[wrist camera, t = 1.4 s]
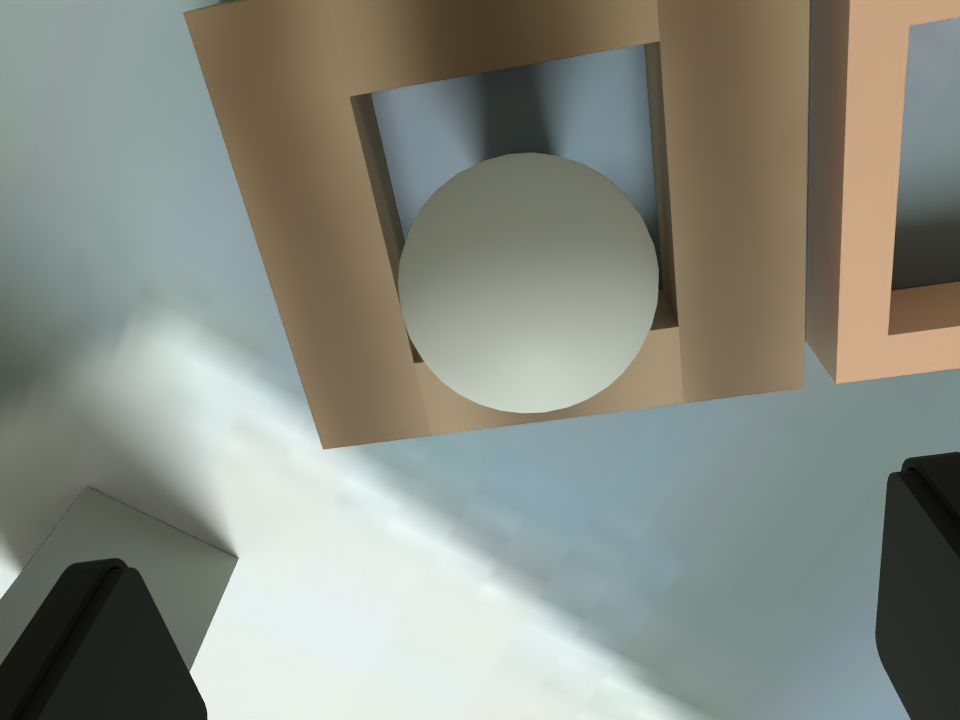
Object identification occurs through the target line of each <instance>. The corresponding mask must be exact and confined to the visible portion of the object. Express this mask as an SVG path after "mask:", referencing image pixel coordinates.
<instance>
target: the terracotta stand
mask: <svg viewBox="0 0 960 720" xmlns="http://www.w3.org/2000/svg"><path fill="white" fill-rule="evenodd" d="M956 17H960V0H811V50H810V113H809V176H808V239H807V301H806V342H807V343H808V345H809V346H810V348H811V349H812V351H813V352H814V353H815V355H816V356H817V358H818V359H819V360H820V362H821V363H822V365H823V366H824V367H825V369H826V370H827V372H828V373H829V375H830V376H831V377H832V379H833V380H834V382H835V383H836V384H838V383H846V382H854V381H861V380H869V379H877V378H885V377H893V376H901V375H908V374H916V373H924V372H932V371H940V370H947V369H955V368H960V281H958V282H951V283H944V284H937V285H930V286H922V287H915V288H908V289H901V290H894V291H891V283H892V269H893V254H894V240H895V225H896V211H897V196H898V182H899V167H900V153H901V138H902V124H903V109H904V95H905V80H906V66H907V51H908V37H909V26H910V25H916V24H922V23H927V22H933V21H939V20H945V19H950V18H956Z"/></svg>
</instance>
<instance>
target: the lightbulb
mask: <svg viewBox="0 0 960 720" xmlns="http://www.w3.org/2000/svg"><path fill="white" fill-rule="evenodd" d="M658 282H659V268H658V263H657V257H656V252H655V247H654V244H653V242H652V239H651V237H650V235H649V232H648V230H647V228H646V225H645V223H644V221H643V219H642V216H641V215H640V213H639V212H638V211H637V209H636V208H635V206H634V205H633V203H632V202H631V201H630V199H629V198H628V196H627V195H626V194H625V193H623V192H622V191H621V190H620V189H619V188H618V187H617V186H616V185H615V184H614V183H613V182H611V181H610V180H609V179H608V178H606V177H605V176H603V175H601V174H600V173H598V172H596V171H595V170H593V169H591V168H590V167H588V166H586V165H583V164H581V163H578V162H575V161H572V160H569V159H566V158H563V157H560V156H556V155H549V154H541V153H533V152H532V153H517V154H507V155H503V156H499V157H496V158H492V159H488V160H485V161H482V162H480V163H478V164H476V165H474V166H472V167H470V168H468V169H466V170H464V171H462V172H460V173H458V174H457V175H455V176H454V177H453V178H452V179H450V180H449V181H448V182H446V183H445V184H444V185H442V186H441V187H440V188H439V189H437V190H436V192H435V193H434V194H433V195H432V196H431V198H430V199H429V200H428V201H427V202H426V203H425V205H424V206H423V207H422V208H421V210H420V211H419V213H418V215H417V217H416V219H415V220H414V222H413V224H412V226H411V228H410V230H409V232H408V235H407V238H406V241H405V245H404V248H403V251H402V255H401V258H400V262H399V275H398V291H399V298H400V306H401V312H402V317H403V320H404V323H405V326H406V329H407V331H408V334H409V337H410V339H411V341H412V343H413V344H414V346H415V348H416V349H417V351H418V352H419V354H420V356H421V357H422V359H423V361H424V362H425V364H426V365H427V366H428V367H429V368H430V369H431V370H432V372H433V373H434V374H435V375H436V376H437V377H438V378H439V379H440V380H441V381H442V382H443V383H444V384H446V385H447V386H448V387H450V388H451V389H452V390H454V391H455V392H456V393H458V394H459V395H461V396H463V397H465V398H467V399H469V400H471V401H473V402H475V403H477V404H480V405H483V406H486V407H490V408H493V409H496V410H500V411H508V412H516V413H540V412H549V411H553V410H558V409H563V408H567V407H570V406H572V405H575V404H577V403H580V402H582V401H585V400H587V399H589V398H591V397H592V396H594V395H596V394H597V393H599V392H600V391H602V390H604V389H605V388H607V387H608V386H609V385H610V384H611V383H613V382H614V381H615V380H616V379H617V378H618V377H619V376H620V375H621V374H623V373H624V371H625V370H626V369H627V368H628V366H629V365H630V364H631V362H632V361H633V360H634V358H635V357H636V356H637V354H638V352H639V351H640V349H641V347H642V345H643V343H644V341H645V339H646V337H647V335H648V332H649V330H650V328H651V326H652V323H653V318H654V314H655V310H656V306H657V301H658Z"/></svg>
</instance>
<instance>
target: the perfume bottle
mask: <svg viewBox="0 0 960 720" xmlns="http://www.w3.org/2000/svg"><path fill="white" fill-rule="evenodd" d="M109 558H120V559H121V560H123V561H124V562H125V563H126V564H127V566H128V567H132V568H135V569H137V570H138V571H139V573H140V574H141V576H142V578H143V580H144V582H145V584H146V586H147V588H148V590H149V592H150V594H151V596H152V598H153V600H154V602H155V604H156V606H157V608H158V610H159V612H160V614H161V616H162V618H163V620H164V622H165V624H166V626H167V628H168V630H169V632H170V634H171V636H172V638H173V640H174V642H175V644H176V646H177V648H178V650H179V652H180V654H181V656H182V658H183V661H184V663H185V665H186V667H187V669H188V671H189V672H190V670H191V667H192V665H193V663H194V660H195V658H196V656H197V653H198V651H199V649H200V646H201V644H202V642H203V640H204V637H205V635H206V633H207V630H208V628H209V626H210V623H211V621H212V619H213V616H214V614H215V612H216V609H217V607H218V605H219V603H220V600H221V598H222V596H223V593H224V591H225V589H226V586H227V584H228V582H229V579H230V577H231V575H232V573H233V570H234V568H235V566H236V563H237V561H238V559H239V558H236V557H234V556H232V555H230V554H228V553H226V552H224V551H222V550H220V549H218V548H216V547H213V546H211V545H209V544H207V543H205V542H203V541H201V540H199V539H197V538H195V537H192V536H190V535H188V534H186V533H184V532H182V531H180V530H178V529H176V528H174V527H172V526H169V525H167V524H165V523H163V522H161V521H159V520H157V519H155V518H153V517H151V516H149V515H146V514H144V513H142V512H140V511H138V510H136V509H134V508H132V507H130V506H128V505H125V504H123V503H121V502H119V501H117V500H115V499H113V498H111V497H109V496H107V495H105V494H102V493H100V492H98V491H96V490H94V489H92V488H90V487H88V486H86V488H85V489H84V490H83V492H82V493H81V494H80V495H79V497H78V498H77V499H76V501H75V502H74V503H73V505H72V506H71V507H70V509H69V510H68V511H67V513H66V514H65V515H64V517H63V518H62V519H61V520H60V522H59V523H58V524H57V526H56V527H55V528H54V530H53V531H52V532H51V534H50V535H49V536H48V538H47V539H46V540H45V542H44V543H43V544H42V545H41V547H40V548H39V549H38V551H37V552H36V553H35V555H34V556H33V557H32V559H31V560H30V561H29V563H28V564H27V565H26V567H25V568H24V569H23V570H22V572H21V573H20V574H19V576H18V577H17V578H16V580H15V581H14V582H13V584H12V585H11V586H10V588H9V589H8V590H7V592H6V593H5V594H4V595H3V597H2V598H1V599H0V665H1V664H2V662H3V661H4V659H5V658H6V656H7V655H8V653H9V652H10V650H11V649H12V647H13V646H14V644H15V643H16V641H17V640H18V638H19V637H20V635H21V634H22V632H23V631H24V629H25V628H26V626H27V625H28V624H29V622H30V621H31V619H32V618H33V616H34V615H35V613H36V612H37V610H38V609H39V607H40V606H41V604H42V603H43V601H44V600H45V598H46V597H47V595H48V594H49V592H50V591H51V589H52V588H53V586H54V585H55V583H56V582H57V580H58V579H59V577H60V576H61V574H62V573H63V572H64V570H65V569H66V568H67V567H68V566H69V565H71V564H73V563H77V562H85V561H93V560H101V559H109Z"/></svg>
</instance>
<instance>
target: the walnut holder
mask: <svg viewBox="0 0 960 720" xmlns="http://www.w3.org/2000/svg"><path fill="white" fill-rule="evenodd" d="M809 8H810V0H233V1H228V2H223V3H218V4H214V5H211V6H207V7H203V8H199V9H195V10H191V11H187V12H184V16H185V20H186V23H187V26H188V29H189V32H190V35H191V38H192V41H193V45H194V48H195V51H196V54H197V57H198V60H199V63H200V66H201V70H202V73H203V76H204V79H205V82H206V85H207V88H208V91H209V95H210V98H211V101H212V104H213V107H214V110H215V113H216V116H217V120H218V123H219V126H220V129H221V132H222V135H223V138H224V141H225V144H226V148H227V151H228V154H229V157H230V160H231V163H232V166H233V169H234V173H235V176H236V179H237V182H238V185H239V188H240V191H241V194H242V198H243V201H244V204H245V207H246V210H247V213H248V216H249V219H250V223H251V226H252V229H253V232H254V235H255V238H256V241H257V244H258V248H259V251H260V254H261V257H262V260H263V263H264V266H265V269H266V272H267V276H268V279H269V282H270V285H271V288H272V291H273V294H274V297H275V301H276V304H277V307H278V310H279V313H280V316H281V319H282V322H283V326H284V329H285V332H286V335H287V338H288V341H289V344H290V347H291V351H292V354H293V357H294V360H295V363H296V366H297V369H298V372H299V376H300V379H301V382H302V385H303V388H304V391H305V394H306V397H307V401H308V404H309V407H310V410H311V413H312V416H313V419H314V422H315V425H316V429H317V432H318V435H319V438H320V441H321V444H322V447H323V449H330V448H338V447H346V446H354V445H362V444H369V443H377V442H385V441H393V440H401V439H408V438H416V437H424V436H432V435H440V434H448V433H455V432H463V431H471V430H479V429H487V428H494V427H502V426H510V425H518V424H526V423H533V422H541V421H549V420H557V419H565V418H572V417H580V416H588V415H596V414H604V413H612V412H619V411H627V410H635V409H643V408H651V407H658V406H666V405H674V404H682V403H690V402H697V401H705V400H713V399H721V398H729V397H737V396H744V395H752V394H760V393H768V392H776V391H783V390H791V389H799V388H804V341H805V274H806V208H807V141H808V75H809ZM641 44H644V45H645V58H646V72H647V85H648V98H649V112H650V125H651V139H652V152H653V165H654V179H655V192H656V206H657V219H658V232H659V246H660V259H661V273H662V286H663V289H658V301H657V306H656V310H655V314H654V318H653V323H652V326H651V328H650V330H649V332H648V335H647V337H646V339H645V341H644V343H643V345H642V347H641V349H640V351H639V352H638V354H637V356H636V357H635V358H634V360H633V361H632V362H631V364H630V365H629V366H628V368H627V369H626V370H625V371H624V373H623V374H621V375H620V376H619V377H618V378H617V379H616V380H615V381H614V382H613V383H611V384H610V385H609V386H608V387H607V388H605V389H604V390H602V391H600V392H599V393H597V394H596V395H594V396H592V397H591V398H589V399H587V400H585V401H582V402H580V403H577V404H575V405H572V406H570V407H567V408H563V409H558V410H553V411H549V412H540V413H516V412H508V411H500V410H496V409H493V408H490V407H486V406H483V405H480V404H477V403H475V402H473V401H471V400H469V399H467V398H465V397H463V396H461V395H459V394H458V393H456V392H455V391H454V390H452V389H451V388H450V387H448V386H447V385H446V384H444V383H443V382H442V381H441V380H440V379H439V378H438V377H437V376H436V375H435V374H434V373H433V372H432V370H431V369H430V368H429V367H428V366H427V365H426V364H425V362H424V361H423V359H422V357H421V356H420V354H419V352H418V351H417V349H416V348H415V346H414V344H413V343H412V341H411V339H410V337H409V334H408V331H407V329H406V326H405V323H404V320H403V317H402V312H401V306H400V298H399V291H398V275H399V262H400V258H401V255H402V251H403V248H404V245H405V242H404V237H403V233H402V229H401V224H400V220H399V216H398V211H397V207H396V203H395V198H394V194H393V190H392V185H391V181H390V177H389V172H388V168H387V164H386V159H385V155H384V151H383V146H382V142H381V138H380V133H379V129H378V124H377V120H376V116H375V111H374V107H373V103H372V98H371V94H370V93H372V92H378V91H383V90H389V89H395V88H400V87H406V86H411V85H417V84H423V83H428V82H434V81H439V80H445V79H451V78H456V77H462V76H467V75H473V74H479V73H484V72H490V71H495V70H501V69H507V68H512V67H518V66H523V65H529V64H535V63H540V62H546V61H551V60H557V59H563V58H568V57H574V56H579V55H585V54H591V53H596V52H602V51H607V50H613V49H619V48H624V47H630V46H635V45H641Z"/></svg>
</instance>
